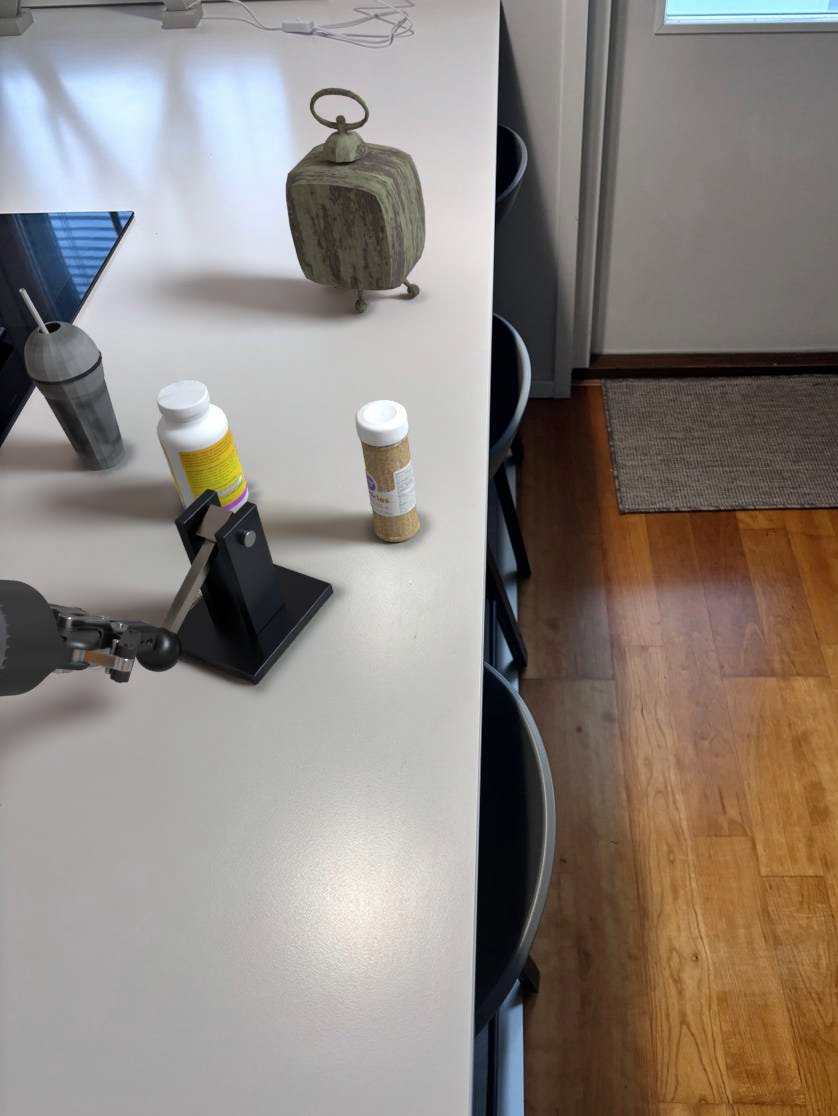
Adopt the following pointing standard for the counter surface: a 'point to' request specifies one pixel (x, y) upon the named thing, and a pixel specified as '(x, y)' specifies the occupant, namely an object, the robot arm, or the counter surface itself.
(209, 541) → the lever
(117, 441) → the beverage cup
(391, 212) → the tabletop clock
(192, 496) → the supplement bottle
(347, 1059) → the counter surface
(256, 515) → the bracket
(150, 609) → the counter surface
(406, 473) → the sprinkles bottle
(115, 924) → the counter surface
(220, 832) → the counter surface
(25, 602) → the robot arm
